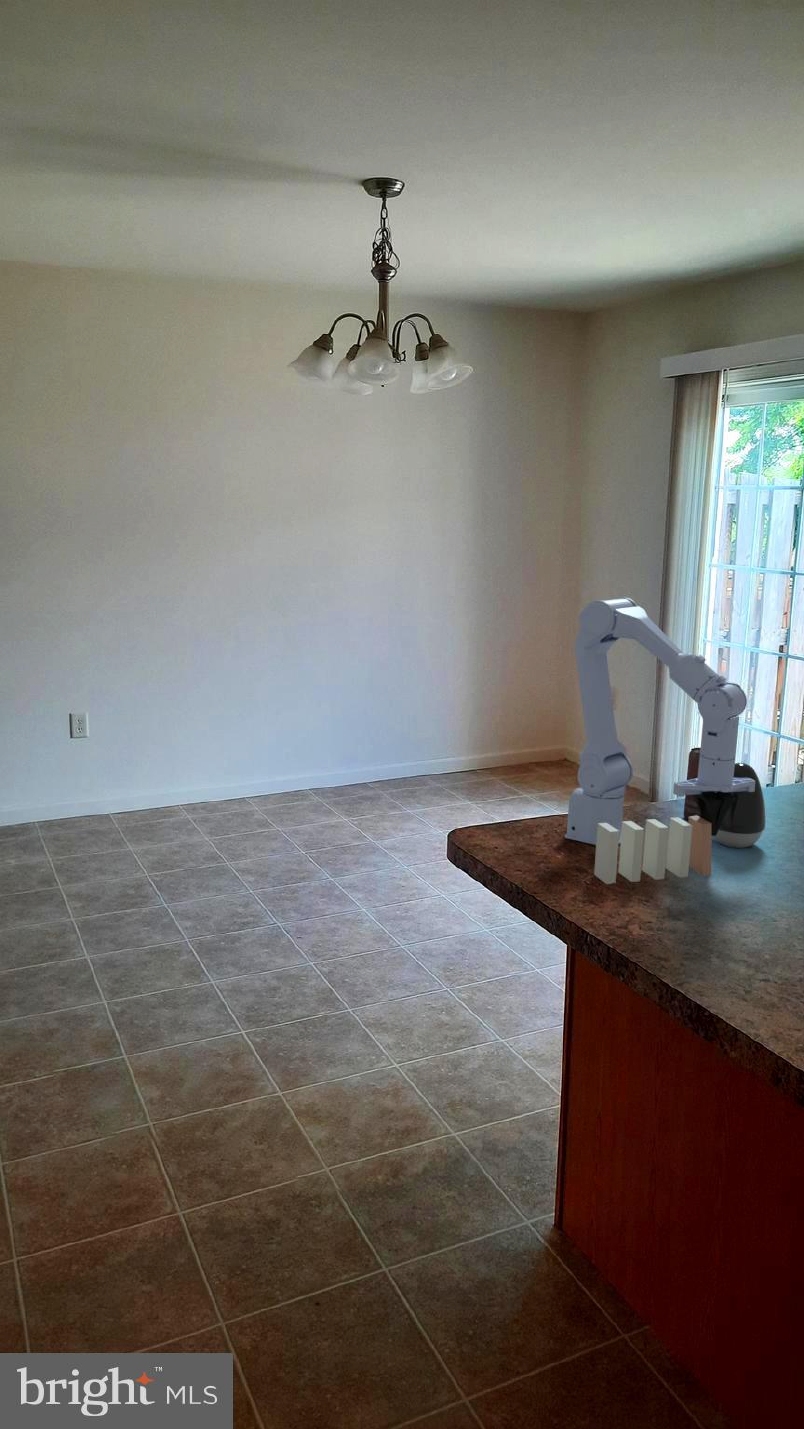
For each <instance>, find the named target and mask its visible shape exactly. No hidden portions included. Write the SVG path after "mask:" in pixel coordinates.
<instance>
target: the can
mask: <svg viewBox="0 0 804 1429" xmlns="http://www.w3.org/2000/svg"><path fill="white" fill-rule="evenodd" d="M700 748H701V747H693V748H691V749H690V751H689V752H688V760H687V770H686V771H687V773H686V781H687V780H691V779H696V778H698V769H699V758H700ZM696 815H697V816H699V817H701V815H700V811H699V808H698V805H697V803H696V801H695V799H694V797H693V795H684V806H683V817H684V819H685V820H686V821H688V822H689V817H690V816H696Z"/></svg>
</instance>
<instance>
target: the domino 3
mask: <svg viewBox="0 0 804 1429" xmlns="http://www.w3.org/2000/svg"><path fill="white" fill-rule="evenodd" d="M668 835H669V826H667V825H665V824H664V823H662V822H660V821H659V820H657V819H655V818H653V819H652V818H651V819H650V818H648V819H646V820H645V828H644V840H643V853H642V865H641V871H642V870H643V872H644V873H645V874H647V875H648V876H649V877H651V878H652V879H653V880H656V881H658V880H664V879H665V873H666V872H665V871H666V870H665V869H666V858H667V846H668Z"/></svg>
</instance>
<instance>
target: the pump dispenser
mask: <svg viewBox="0 0 804 1429" xmlns="http://www.w3.org/2000/svg"><path fill="white" fill-rule="evenodd" d="M733 778H750V779H752V780H754V781H755V790H754V792H748V791H738V792H731V795H733V796H734V797H735V800H734V803H733V804H732V805H731V807H730V808H729V809H728V811H727V812H726V814H725V816H724V818H723V820H722V822H721V825H720V827H719V830H718V833H717V835H716V836H712V838H713V839H714V840H715V841H717V843H719V844H721V845H723V846H726V847H729V848H736V849H739V848H741V849H743V848H747V847H750V846H752V845H754V844H756V842H758V840H759V839H760V838H761V836H762V834H763V831H765V829H766V807H765V806H766V805H765V799H764V798H765V797H764V793H763V789H762V785H761V782H760V778H759V777H758V775H757V773H756V771H755V769H754V768H753V767H752V766H751V765H749V764H747V763H744V762H737V763H736V762H735V766H734V776H733Z"/></svg>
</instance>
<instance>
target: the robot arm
mask: <svg viewBox="0 0 804 1429" xmlns="http://www.w3.org/2000/svg"><path fill="white" fill-rule="evenodd" d="M578 622H579V627H578V630H577V631H578V632H577V634H576V639H575V642H574V654H575V662H576V670H577V676H578V684H579V692H580V694H579V695H580V701H581V707H582V717H583V723H584V731H585V732H584V733H585V738H586V740H585V741H586V742H585V745H584V747H583V749H582V750H581V752H580V753H579V768H578V770H577V781H578V784H579V787H577V788H575V789H574V790H573V792H572V793H571V795H570V798H569V801H568V810H567V812H568V813H567V825H566V826H567V828H566V829H567V830H566V834H565V835H564V837H565V838H566V839H569V840H573V841H578V842H581V843H586V844H590V845H595V846H596V842H597V828H598V823H608V824H609V825H611V826H612V827H614V828H615V829H617V830H618V831H619V842H618V846H619V845H621V832H622V821H623V817H624V816H623V815H624V803H625V801H624V800H625V792H626V785H628V784H629V783H630V782H631V781H632V779H633V776H634V768H633V764H632V762H631V761H630V759H629V757H628V754H627V747H626V746H625V745H624V744H623V743H622V742H621V741H620V740H619V738H618V735H617V728H616V719H615V710H614V704H613V703H614V702H613V694H612V688H611V687H612V686H611V679H610V674H609V664H608V657H607V656H608V655H607V654H608V652H609V650H610V649H611V648H612V647H613V646H614V644H616V642H617V641H618V640H619V639H629V640H635V641H636V643H638V644H640V645H641V647H643V648H644V649H646V650H647V651H648V652H649V653H650V654H652V655H653V656H654V657H655V658H657V659H658V660H659V661H660V662H662V663H663V664H664V665H665V666H667V668H668V672H669V678H670V680H671V681H672V682H674V683H675V684H676V685H677V686H678V687H679V688H680V689H681V690H682V691H683V692H684V693H685V694H686V695H687V696H689V697H690V698H691V699H692V700H693V701H694V702H695V703H696V704H697V709H698V712H699V714H700V716H701V718H702V728H701V737H700V739H701V740H700V747H699V748H700V758H699V769H698V778H696V779H691V780H687V779H686V780H683V781H677V782H674V783H673V789H672V793H673V795H675V796H677V797H679V798H681V797H685V795H693V797H694V799H695V801H696V803H697V805H698V808H699V811H700V815H701V818H703V819H704V820H706V821H708V822H710V823H711V837H713V836H716V835H717V833H718V830H719V827H720V825H721V822H722V820H723V818H724V816H725V814H726V812H727V811H728V809H729V808H730V807H731V805H732V804H733V803H734V800H735V797H734V796H733V795H731V792H738V791H748V792H754V790H755V781H754V780H752V779H750V778H733V776H734V766H735V764H736V755H737V746H738V745H737V744H738V736H739V724H740V715H741V714H743V712H744V711H745V709H746V707H747V704H748V702H747V701H748V698H747V695H746V693H745V691H744V690H743V689H742V688H741V686H740V685H739V684H738V683H735V682H731V681H730V682H726V680H727V678H726V677H725V676H723V675H718V673H716V671H714V670H713V669H712V668H711V667H710V666H709V665H708V664H707V663H705V662H706V660H707V659H706V658H705V657H704V656H703V655H702V654H699V655H697V654H696V653H694V652H688V653H684V652H683V651H682V650H681V649H680V648H679V647H678V646H677V645H676V644H675V643H674V642H673V641H672V640H671V639H670V638H669V637H668V636H667V635H666V634H665V632H663V631H662V630H661V628H660V627H658V626H657V624H656V623H655V622H653V620H652V619H651V618H650V617H649V616H648V614H647V612H646V610H645V609H644V608H642V607H641V606H639V605H637V603H636V602H635V601H634V600H633V599H632V598H629V597H618V598H614V599H605V600H598V599H597V600H593V601H591V602H589V603H588V604H587V605H586V606H585V608H583V609H582V610H581V612H580V613H579V614H578Z"/></svg>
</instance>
